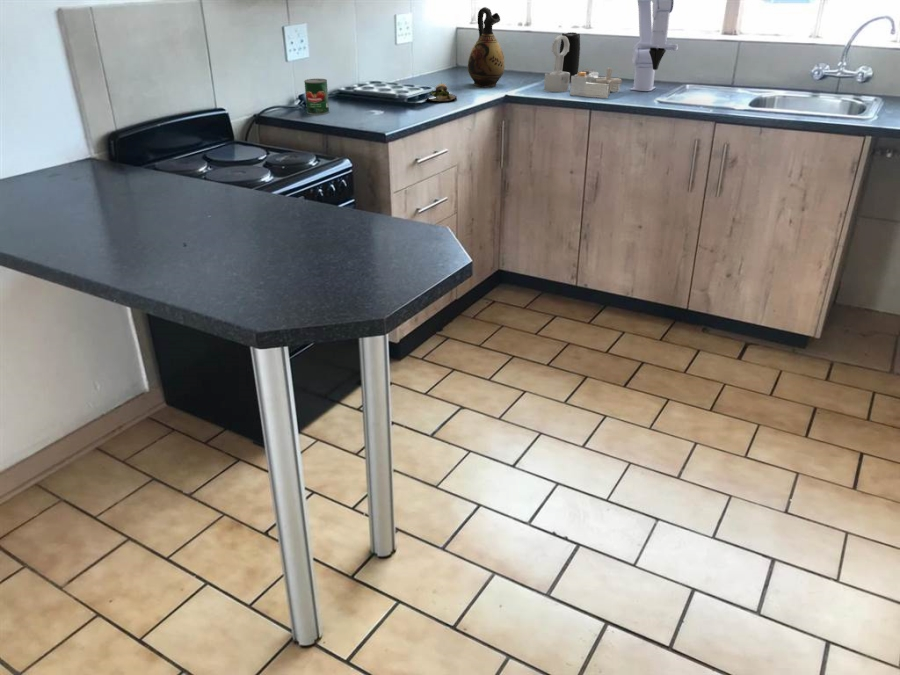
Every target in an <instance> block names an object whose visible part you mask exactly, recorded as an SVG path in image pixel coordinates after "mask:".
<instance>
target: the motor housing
mask: <svg viewBox="0 0 900 675" xmlns="http://www.w3.org/2000/svg"><path fill="white" fill-rule="evenodd" d="M604 77H605V76H603V77H602V76H601V77H600V76H599V71H594V69H588V68H587V69H584V70H582V71H578V74H576V75H573V76H571V80H570V87H569V90H570V92H569V95H570V96H577V97H579V96H581V97H587V98H596V97H597V98H598V99H608V97H609V95H608V89H609V84H600V83H595V80H596V79H603V78H604ZM611 79H619V78H617V77H616V78H615V77H611ZM620 86H621V84H614V85H613V86H610V93H611V92H612V93H619V92H620Z"/></svg>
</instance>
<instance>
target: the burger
mask: <svg viewBox="0 0 900 675" xmlns="http://www.w3.org/2000/svg"><path fill="white" fill-rule="evenodd" d="M447 90H448V87H447V85H446V84H443V83H440V84H438V85H437V86H436V87H435V91H434V90H433V89H432V90H431V91H430V92H429V94H432V95H433V96H434V97H436V99H429V98H427V100H429V101H433V102H449V101H453V100H454V101H455V102H457V100H458V98H457V97H458V96H457V95H456V94H451V93H450V92H449V91H447Z"/></svg>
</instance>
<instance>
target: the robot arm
mask: <svg viewBox="0 0 900 675" xmlns="http://www.w3.org/2000/svg"><path fill="white" fill-rule="evenodd" d="M674 1H675V0H637V8H638V27H639V28H638V29H639V30H638V31H639V32H638V34H639V41H638V42H636V44H634V46H633V49H632V55H631V60H632V61H631V62H632V65H633V66H635V69H634V70H635V71H634V77H633V78H634V79H633V80H634V81H633V87H631V88H629V89H630V90H631V91H641V92H651V91H653V90H654V89H656V86H654V82H655V74H656V72H655V71H657V70H658V69H659V66H660V64H661V61H662V58H663V57H664V55H665V53H666V51H667V50H668V51H678V48H679V44H675V43H674V44H673V43H668V42H667V40H668V31H669V24H670V16H671V15H670V14H671V13H672V12H673V9H674V4H675V3H674Z"/></svg>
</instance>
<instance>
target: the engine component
mask: <svg viewBox="0 0 900 675" xmlns="http://www.w3.org/2000/svg"><path fill="white" fill-rule="evenodd" d="M561 39H563V41H564V49H563V51H562V52H561V53H560V51H559V49H558V47H559V43H560V42H561ZM569 45H570V43H569V40H568V38H567V37H566V36H562V34H560V35H558V36H556V37H555V39H554V41H553V43H552V45H551V52H552V53H553V56H555V61H554V69H553V71H552V72H550V73H544V87H543V88H544V89H543V90H544V91H545V92H552V93H553V92H556V93H559V92H560V93H562V92H563V93H564V92H567V91H569V90H570V83H571V80H570V73H569V72H563V71H562V68H563V59H564V56H565V55H566V54H567V52H569Z"/></svg>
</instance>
